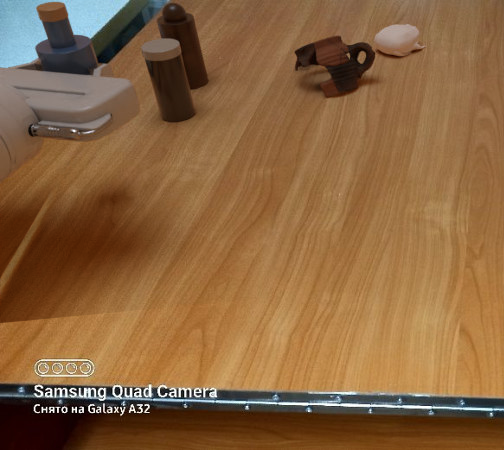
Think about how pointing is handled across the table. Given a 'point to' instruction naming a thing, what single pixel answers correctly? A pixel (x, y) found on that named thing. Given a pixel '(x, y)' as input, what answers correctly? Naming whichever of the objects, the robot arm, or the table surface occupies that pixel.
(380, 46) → the pale pink rounded lump
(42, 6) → the blue bottle
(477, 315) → the table surface
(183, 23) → the pepper mill
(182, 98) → the salt shaker
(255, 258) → the table surface
